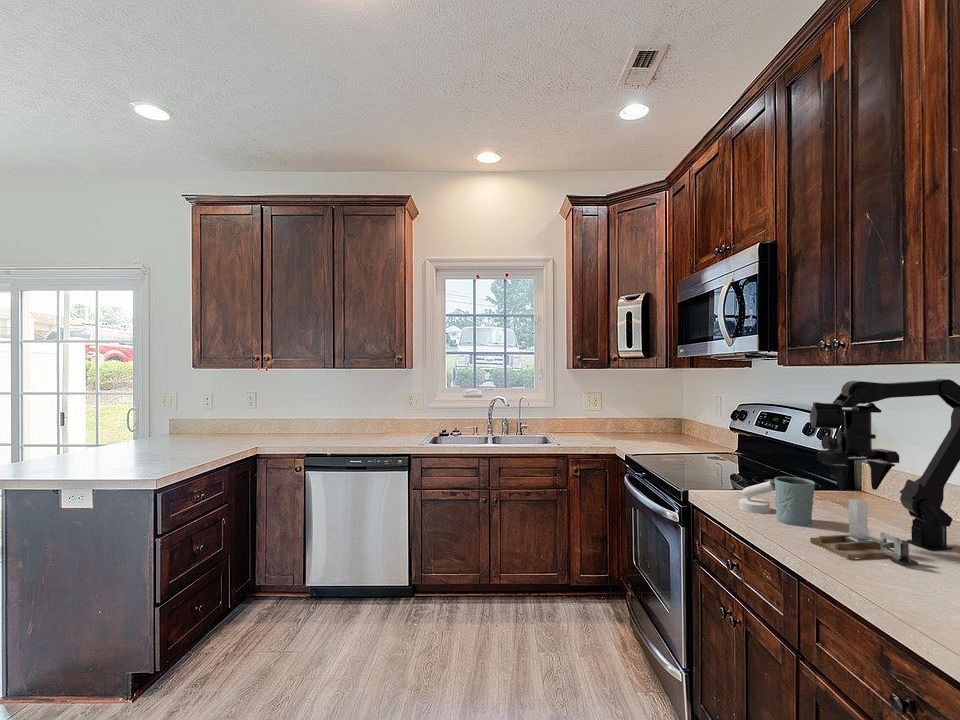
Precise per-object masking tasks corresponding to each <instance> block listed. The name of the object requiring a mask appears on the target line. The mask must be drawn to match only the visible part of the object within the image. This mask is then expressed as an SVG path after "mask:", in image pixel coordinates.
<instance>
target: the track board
mask: <svg viewBox="0 0 960 720" xmlns="http://www.w3.org/2000/svg"><path fill="white" fill-rule="evenodd" d="M845 537H849V534H838V535H837V534H835V535H819V536H818V537H810V540H809V541H810V542H812V543H811V544H813V543H814V544H813V545H815V544H816V545H815V546H817V545H818V546H817V547H819V546H820V548H821V547H823V548H822V549H824V548H825V549H824V550H826V549H827V550H826V551H828V550H829V551H828V552H830V551H831V553H832V552H833V554H834V553H836V554H835V555H837V554H838V555H837V556H839V555H840V556H839V557H841V556H842V557H841V558H843V557H844V559H845V558H847V559H846V560H848V559H851V560H856V559H855V558H872V559H888V558H889V557H892V556H890V555H887V554H885V553H882V552H881V547H880V544H879V543H877V542H874V541H872V540H870V541H867V542H846V541H845ZM868 540H869V539H868ZM887 550H890V551H892V552H894V549H893V548H887ZM889 559H890V558H889Z"/></svg>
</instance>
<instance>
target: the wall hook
mask: <svg viewBox="0 0 960 720" xmlns="http://www.w3.org/2000/svg"><path fill="white" fill-rule="evenodd" d="M775 491H776V490H775V485H774V484H773V482H772V481H771V480H768V481H766V482H765V481H764V482H761V483H758V484H754V485H753V484H752V485H750V486H746V487H744V488H743V489H742V492H741V493H742V495H743V496H744V497H742V498H739V499H738V509H739V510H741V511H743V512H747V513H752V514H768V513H770V511H771V507H770V506H771V504H770V502H769V501H768V500H765V499H760V498H755V496H759V495H763V494H767V493H771V492H775Z"/></svg>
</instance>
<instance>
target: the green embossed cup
mask: <svg viewBox="0 0 960 720" xmlns="http://www.w3.org/2000/svg"><path fill="white" fill-rule="evenodd" d="M815 486H816V482H815V481H814V480H811V479H807V478H804V477H795V476H794V477H793V476H777V477H774V488H775V491H774V492H775V493H774V494H775V507H776V510H775V513H776V519H777V522H780V523H781V524H784V525H790V526H795V525H796V527H797V526H798V527H807V526H806V525H808V526H810V525H811V523H812V517H813V514H812V513H813V507H814V506H813V505H814V495H815Z"/></svg>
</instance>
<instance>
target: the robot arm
mask: <svg viewBox="0 0 960 720" xmlns="http://www.w3.org/2000/svg"><path fill="white" fill-rule="evenodd" d="M927 396H929V397H931V396H938V397H939V398H940V399H941V400H942V401H943V402H944V403H945V404H946V405H947V406H949V407H950V408H951V409H952V412H951V415H950V428H949V430H948V432H947V433H946V435H945V437H944V439H942V442H941V444H940V445H939V446H938V448H937V450H936V452H935V453H934V455H933V457H932V459H931V460H930V462H929V463H928V465H927V467H926V469H925V470H924V472H923V474H922V475H921V476H920V477H919V478H917V479H916V480H915V481H914V480H912V479H909V478H908V479H906V482H905V485H904V487H903V488H902V489H901V490H900V491H899V493H900V498H899V501H900V503H901V505H902V507H904V509H906V510H907V511H908V514H909V516H911V517H913V519H912V525H911V539H907V540H906V541H908V542H909V544H912V545H915V546H917V547H920V548H923V549H925V550H929V551H942V550H943V551H945V550H953V549H954V547H953V546H951V545H948V544H947V543H948V542H947V536H948V535H947V533H948V531H947V527H948V528H949V527H950V526H951V524H952V522H953V517H952V516H950V515H949V514H948V513H946V511H944V510H943V509H942V505H943V503H944V491H945V486H946V484H947V482H948V481H949V479H950V477H951V476H952V474H953V473H954V471H955V469H956V468H957V466H958V464H959V463H960V385H959V384H958V383H957V382H956V381H955V380H952V379H947V378H945V379H944V378H937V379H934V380H932V379H931V380H915V381H914V380H913V381H903V382H902V381H901V382H900V381H899V382H883V383H882V382H873V381H861V380H850V381H847V382H845V383H844V384H843V385H842V388H841V392H840V394H839V395H838V396H836V398H835V399H834V400H833V401H832V403H831V402H830V403H828V402H819V401H817V402H816V401H814V402H812V407H811V410H810V413H809V421H810V422H809V423H810V425H811V428H813V429H827V430H828V429H830V430H831V429H835V430H837V429H840V427H842V426H843V425H844V430H843V431H840V432H839V437H838V438H837V437H836V438H833V436H831V435H828V436H827V435H825V436H822V437H821V447H822V449H820V450H819V451H818V452H817V461H818V462H821V463H822V464H823V465H824V466H825V465H826V466H827V467H828V468H829V469H830V471H831V472H832V474H833V477H834V479H835V482H836V484H837V486H838V489H839V490H840V491H842V492H843V491H845V489H846V485H847V480H848V473H849V468H850V465H847V463H848V462H849V461H866V463H867V464H868V466H869V467H870V483H871V489H872V490H874V491H875V490H876V491H877V489H879V488H880V485H881V483H882V482H883V480H884V478H885V477H886V476H887V474H888V473H889V472H890V470H891V469H892V468H893V467H896V464H900V455H899V454H898V452H897V451H894V450H890V449H884V448H872V447H873V446H872V440H875V439H876V437H877V436H876V434H874V433H872V413H874V414H875V413H876V414H877V413H882V409H880V408H879V407H877V405H875V403H876V402H880V401H882V400H886V399H892V398H910V397H927ZM874 402H875V403H874ZM864 404H865V405H864Z"/></svg>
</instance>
